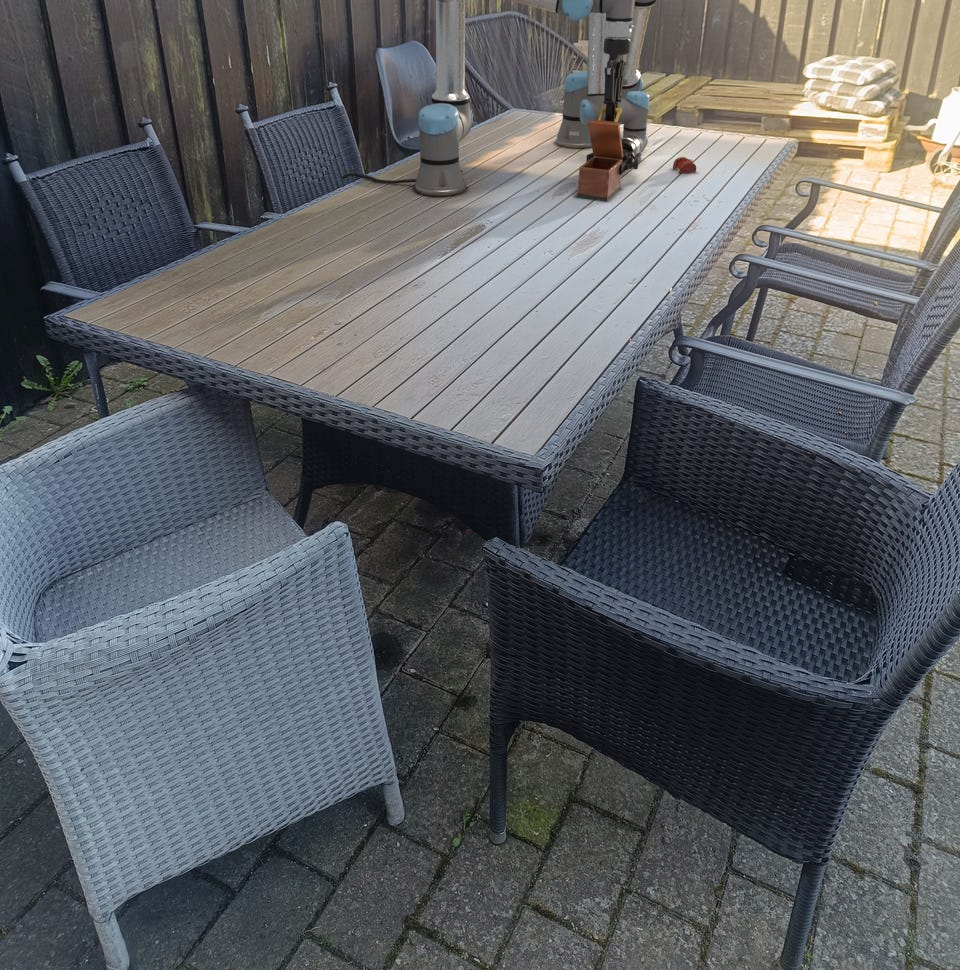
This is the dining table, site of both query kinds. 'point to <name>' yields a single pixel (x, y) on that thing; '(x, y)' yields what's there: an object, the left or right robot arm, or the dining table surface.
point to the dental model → (684, 165)
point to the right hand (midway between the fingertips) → (604, 168)
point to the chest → (599, 178)
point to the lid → (606, 136)
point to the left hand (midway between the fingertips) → (610, 126)
